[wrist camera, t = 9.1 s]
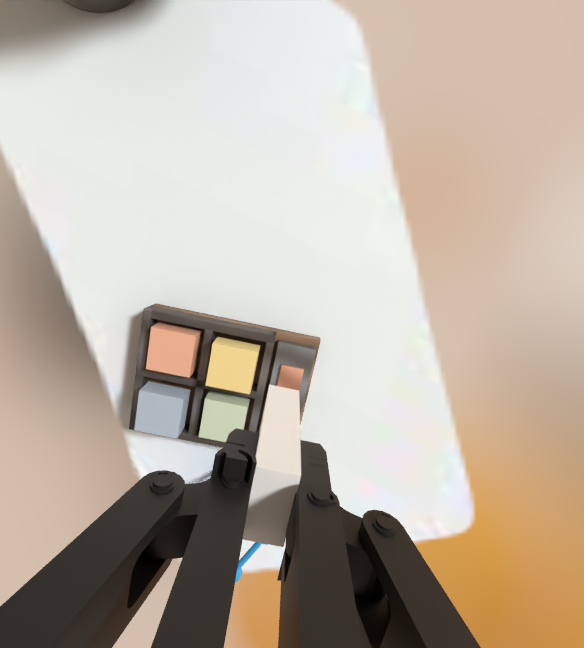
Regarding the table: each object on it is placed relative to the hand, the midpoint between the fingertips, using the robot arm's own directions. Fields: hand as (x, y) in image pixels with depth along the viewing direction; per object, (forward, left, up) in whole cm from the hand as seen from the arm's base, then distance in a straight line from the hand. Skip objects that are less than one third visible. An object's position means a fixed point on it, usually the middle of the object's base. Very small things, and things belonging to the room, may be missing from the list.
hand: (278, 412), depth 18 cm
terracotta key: (+8, -13, -30) cm, 34 cm away
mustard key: (+8, -5, -29) cm, 30 cm away
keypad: (+12, -6, -32) cm, 35 cm away
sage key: (+16, -5, -30) cm, 35 cm away
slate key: (+16, -13, -29) cm, 36 cm away
